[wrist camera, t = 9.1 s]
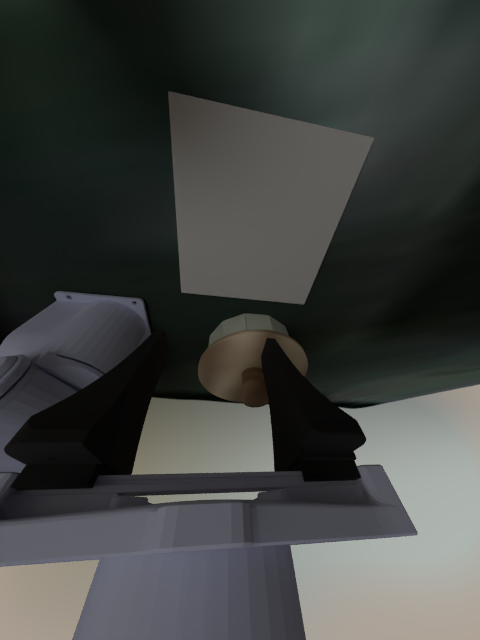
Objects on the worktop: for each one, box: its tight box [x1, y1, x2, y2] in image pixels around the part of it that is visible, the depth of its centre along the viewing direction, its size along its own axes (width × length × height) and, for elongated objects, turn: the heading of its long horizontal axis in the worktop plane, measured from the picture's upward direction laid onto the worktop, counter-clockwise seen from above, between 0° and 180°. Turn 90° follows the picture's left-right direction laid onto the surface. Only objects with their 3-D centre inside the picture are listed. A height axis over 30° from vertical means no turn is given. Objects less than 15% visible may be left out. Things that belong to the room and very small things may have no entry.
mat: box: [168, 91, 374, 304], centre depth 17 cm, size 15×15×1 cm
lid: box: [198, 329, 308, 407], centre depth 22 cm, size 14×14×4 cm
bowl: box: [209, 313, 289, 346], centre depth 26 cm, size 12×12×4 cm
